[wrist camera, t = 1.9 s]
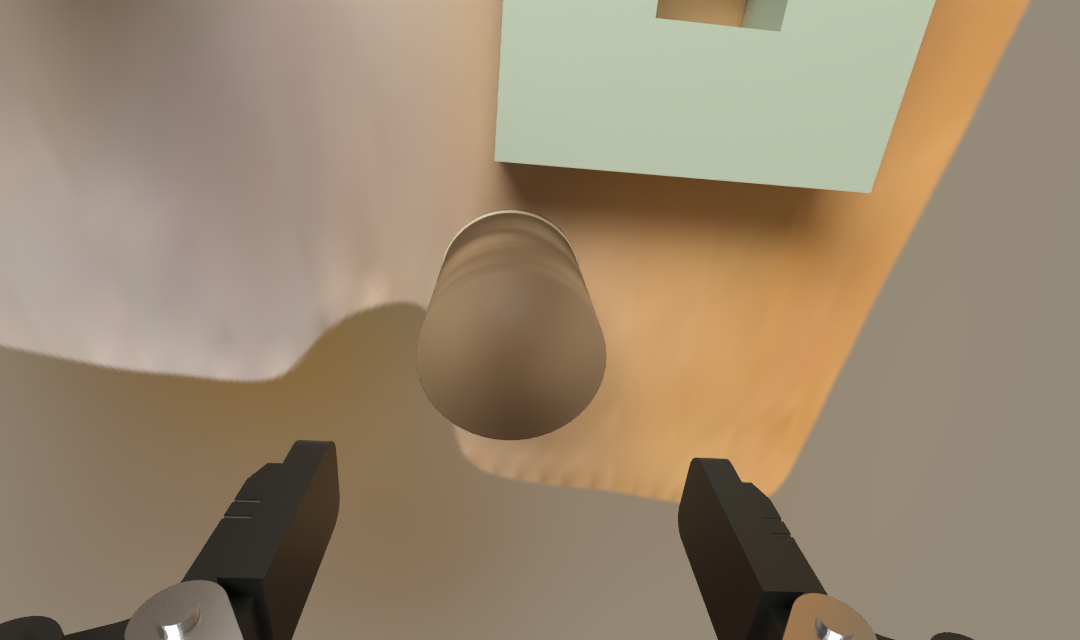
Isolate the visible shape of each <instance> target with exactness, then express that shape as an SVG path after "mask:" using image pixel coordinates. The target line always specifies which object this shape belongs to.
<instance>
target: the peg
mask: <svg viewBox="0 0 1080 640" xmlns="http://www.w3.org/2000/svg"><path fill="white" fill-rule="evenodd" d="M416 351H417V352H416V363H417V364H416V365H417V372H418V376H419V380H420V382H421V385H422V387H423V390H424V392H425V393H426V395H427V397H428V399H429V400H430V401H431V402H432V404H433V405H434V407H435V408H436V409H437V410H438V411H439V412H440V413H441V414H442V415H443V416H444V417H446V418H447V419H448V420H449V421H451V422H452V423H454V424H455V425H457V426H459V427H460V428H462V429H464V430H466V431H469V432H471V433H473V434H476V435H480V436H483V437H487V438H492V439H500V440H521V439H529V438H533V437H538V436H541V435H544V434H547V433H550V432H552V431H554V430H557V429H559V428H561V427H562V426H564V425H566V424H567V423H569V422H570V421H572V420H573V419H574V418H575V417H577V416H578V415H579V414H580V413H581V412H582V411H583V410H584V409H585V408H586V407H587V406H588V404H589V403H590V402H591V400H592V399H593V398H594V396H595V394H596V393H597V391H598V389H599V387H600V384H601V382H602V379H603V375H604V371H605V366H606V346H605V341H604V336H603V333H602V330H601V328H600V325H599V322H598V319H597V316H596V314H595V311H594V308H593V305H592V302H591V300H590V297H589V294H588V291H587V288H586V286H585V283H584V280H583V277H582V274H581V272H580V269H579V264H578V260H577V257H576V254H575V252H574V249H573V247H572V245H571V243H570V241H569V240H568V239H567V237H566V236H565V234H564V233H563V232H562V231H561V230H560V229H559V228H558V227H557V226H555V225H554V224H553V223H552V222H550V221H549V220H547V219H545V218H544V217H542V216H539V215H537V214H535V213H531V212H528V211H523V210H516V209H504V210H496V211H492V212H488V213H486V214H483V215H481V216H478V217H477V218H475V219H473V220H471V221H470V222H469V223H467V224H466V225H465V226H463V227H462V228H461V229H460V230H459V231H458V232H457V234H456V235H455V236H454V237H453V239H452V240H451V242H450V244H449V246H448V247H447V250H446V252H445V255H444V258H443V262H442V266H441V271H440V274H439V277H438V280H437V283H436V286H435V289H434V292H433V295H432V298H431V301H430V304H429V307H428V310H427V313H426V317H425V320H424V323H423V326H422V329H421V332H420V335H419V339H418V344H417V350H416Z"/></svg>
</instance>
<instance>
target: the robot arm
mask: <svg viewBox="0 0 1080 640" xmlns="http://www.w3.org/2000/svg"><path fill="white" fill-rule="evenodd" d="M339 499H340V498H339V482H338V469H337V457H336V447H335V443H334V442H332V441H310V440H297V441H296V442H295V443H294V445H293V446H292V448H291V450H290V452H289V453H288V455H287V457H286V458H285V460H284V462H283V464H281V463H267V464H266V465H265V466H264V467H262V468H261V469H260V470H259V471H257V472H256V473H255V474H253V475H252V476H251V477H250V478H248V479H247V480H246V482H245V483H244V485H243V486H242V488H241V490H240V491H239V493H238V494H237V496H236V498H235V501H234V503H233V502H232V504H231V505H230V507H229V508H228V510H227V511H226V513H225V514H224V519H221V521H220V522H219V524H218V526H217V527H216V529H215V530H214V532H213V533H212V535H211V536H210V538H209V539H208V541H207V543H206V544H205V546H204V547H203V549H202V550H201V552H200V554H199V555H198V557H197V558H196V560H195V561H194V563H193V564H192V566H191V567H190V569H189V571H188V572H187V574H186V575H185V577H184V578H183V580H182V581H181V583H179V584H176V585H173V586H171V587H168V588H166V589H164V590H162V591H160V592H159V593H157V594H155V595H154V596H153V597H151V598H150V599H148V600H147V601H146V602H145V603H144V604H143V605H142V606H140V607H139V608H138V610H137V611H136V612H135V613H134V614H133V616H132V617H131V618H130V619H127V620H125V621H121V622H117V623H114V624H110V625H106V626H101V627H97V628H93V629H89V630H85V631H81V632H77V633H73V634H69V635H65V636H64V634H63V632H62V629H61V627H60V625H59V624H58V623H57V622H56V621H55V620H53V619H51V618H48V617H43V616H29V617H23V618H18V619H14V620H11V621H7V622H4V623H2V624H0V640H291V639H292V637H293V634H294V632H295V629H296V626H297V624H298V621H299V619H300V616H301V613H302V611H303V608H304V605H305V603H306V600H307V598H308V595H309V592H310V590H311V587H312V585H313V582H314V579H315V577H316V574H317V572H318V569H319V566H320V564H321V561H322V559H323V556H324V553H325V551H326V548H327V545H328V543H329V540H330V538H331V535H332V532H333V530H334V527H335V524H336V521H337V516H338V511H339ZM678 526H679V533H680V537H681V540H682V542H683V545H684V548H685V551H686V553H687V556H688V559H689V562H690V564H691V567H692V570H693V573H694V575H695V578H696V581H697V584H698V586H699V589H700V592H701V595H702V597H703V600H704V603H705V605H706V608H707V611H708V614H709V616H710V619H711V622H712V625H713V627H714V630H715V633H716V635H717V638H718V640H893V639H890V638H887V637H883V636H880V635H878V634H875V633H874V631H873V630H872V628H871V626H870V625H869V624H868V622H867V621H866V620H865V619H864V618H863V617H862V616H861V615H860V614H859V613H858V612H857V611H855V610H854V609H853V608H852V607H850V606H849V605H847V604H845V603H844V602H842V601H840V600H838V599H836V598H834V597H831V596H828V595H827V593H826V591H825V590H824V588H823V586H822V585H821V583H820V581H819V580H818V578H817V576H816V575H815V573H814V572H813V570H812V568H811V567H810V565H809V564H808V562H807V560H806V558H805V557H804V555H803V553H802V552H801V551H800V548H799V547H798V545H797V543H796V542H795V540H794V538H791V536H790V532H789V530H788V529H787V527H786V525H785V524H784V522H781V517H780V515H779V514H778V512H777V510H776V509H775V507H774V505H773V504H772V502H771V500H770V499H769V498H768V497H767V496H766V495H764V494H763V493H762V492H761V491H760V490H759V489H758V488H757V487H755V486H754V485H753V484H752V483H745V482H741V480H740V478H739V476H738V475H737V473H736V471H735V469H734V467H733V466H732V464H731V462H730V461H729V460H727V459H714V458H694V459H693V460H692V461H691V463H690V467H689V471H688V474H687V478H686V482H685V486H684V490H683V494H682V498H681V502H680V506H679V512H678ZM931 640H973V639H972V638H969V637H966V636H964V635H960V634H957V633H950V632H948V633H946V632H944V633H939V634H936V635H935V636H933V637H932V638H931Z"/></svg>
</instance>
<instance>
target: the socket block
mask: <svg viewBox="0 0 1080 640" xmlns="http://www.w3.org/2000/svg"><path fill="white" fill-rule="evenodd" d="M935 1H936V0H747V5H746V9H745V14H744V19H743V23H742V27H733V26H724V25H714V24H705V23H696V22H687V21H678V20H669V19H660V18H656V11H657V5H658V0H503V14H502V32H501V50H500V68H499V86H498V104H497V123H496V141H495V159H494V161H499V162H510V163H522V164H534V165H546V166H557V167H569V168H581V169H592V170H604V171H616V172H628V173H639V174H651V175H663V176H674V177H686V178H698V179H710V180H721V181H733V182H745V183H756V184H768V185H780V186H792V187H803V188H815V189H827V190H838V191H850V192H862V193H871V190H872V187H873V184H874V181H875V178H876V175H877V172H878V169H879V166H880V163H881V161H882V158H883V155H884V152H885V149H886V146H887V143H888V140H889V137H890V134H891V131H892V128H893V125H894V122H895V119H896V116H897V113H898V110H899V107H900V104H901V101H902V98H903V95H904V92H905V89H906V87H907V84H908V81H909V78H910V75H911V72H912V69H913V66H914V63H915V60H916V57H917V54H918V51H919V48H920V45H921V42H922V39H923V36H924V33H925V30H926V27H927V24H928V21H929V18H930V16H931V13H932V10H933V7H934V4H935Z"/></svg>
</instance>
